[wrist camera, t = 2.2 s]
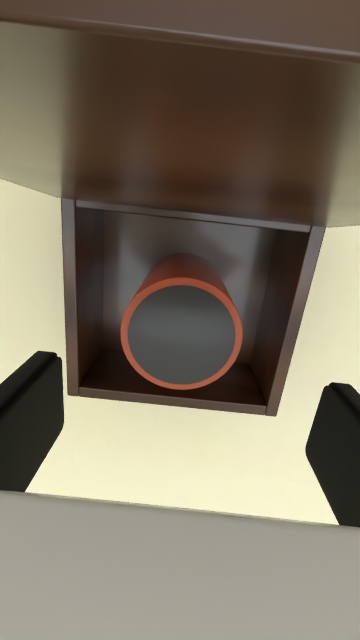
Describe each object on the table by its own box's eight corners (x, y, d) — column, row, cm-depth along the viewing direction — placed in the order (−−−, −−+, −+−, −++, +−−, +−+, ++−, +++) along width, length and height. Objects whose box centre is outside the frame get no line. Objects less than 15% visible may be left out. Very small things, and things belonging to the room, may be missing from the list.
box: (255, 368, 27) (276, 417, 21) (95, 351, 27) (67, 395, 20) (288, 217, 22) (328, 219, 16) (96, 196, 22) (60, 189, 16)
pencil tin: (130, 306, 24) (99, 357, 16) (168, 237, 22) (156, 252, 14) (197, 342, 25) (201, 409, 17) (238, 278, 23) (268, 317, 15)
